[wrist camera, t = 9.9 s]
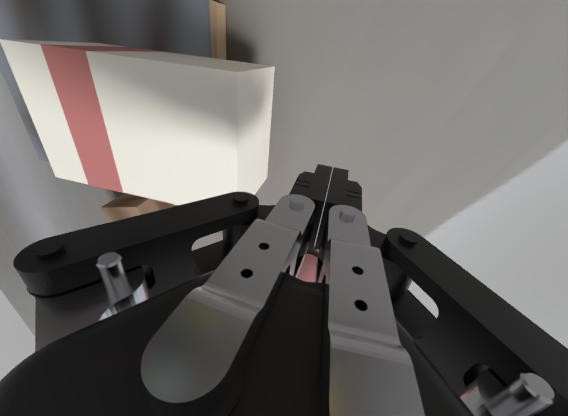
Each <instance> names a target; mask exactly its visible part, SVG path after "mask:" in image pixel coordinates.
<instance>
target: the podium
mask: <svg viewBox="0 0 568 416" xmlns="http://www.w3.org/2000/svg"><path fill="white" fill-rule="evenodd" d="M0 39H11V40H36V41H61V42H86V43H102V44H110V45H117V46H125V47H135V48H143V49H150V50H158V51H164V52H170V53H178V54H186V55H193V56H201V57H208V58H216V59H223V60H226V9H225V5H224V4H221V3H218V2H216V1H213V0H0ZM0 69H1V72H2V74H3V76H4V79H5V81H6V83H7V86H8V88H9V90H10V93H11V95H12V97H13V99H14V102H15V104H16V106H17V109H18V111H19V113H20V116H21V118H22V120H23V122H24V125H25V127H26V129H27V132H28V134H29V136H30V139H31V141H32V143H33V145H34V148H35V150H36V152H37V155H38V157H39V159H40V160H43V161H48V162H49V159H48V157H47V154H46V152H45V150H44V147H43V145H42V142H41V140H40V137H39V135H38V133H37V130H36V128H35V125H34V123H33V120H32V118H31V116H30V113H29V111H28V108H27V106H26V103H25V101H24V99H23V96H22V94H21V91H20V89H19V87H18V84H17V82H16V79H15V77H14V74H13V72H12V70H11V67H10V65H9V62H8V60H7V57H6V55H5V53H4V50H3V48H2V45H1V43H0Z"/></svg>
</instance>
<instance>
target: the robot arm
mask: <svg viewBox="0 0 568 416" xmlns="http://www.w3.org/2000/svg"><path fill="white" fill-rule="evenodd" d="M331 171H332V167H330V166H325V165H320V164H318V165H317V168H316V170H315V173H310V172H306V171H305V172H303V173H301V174H299V176H298V178H297V180H296V182H295V184H294V186H293V188H292V190H291V192H290V194H289V195H285V196H283V197H282V198H281V199H280V200H279V201H278V203H277V204H276V205H272V206H266V205H259V200H258V198H257V197H256V196H255V195H253V194H251V193H248V192H231V193H227V194H223V195H219V196H215V197H211V198H207V199H203V200H199V201H195V202H191V203H187V204H183V205H178V206H174V207H170V208H166V209H162V210H158V211H154V212H150V213H146V214H142V215H138V216H134V217H130V218H126V219H122V220H118V221H114V222H110V223H106V224H102V225H97V226H93V227H89V228H85V229H81V230H77V231H73V232H69V233H65V234H61V235H57V236H53V237H49V238H45V239H42V240H40V241H37V242H35V243H33V244H31V245H29V246H27V247H26V248H24V249H23V250H22V251H20V252H19V253H18V254H17V256H16V257H15V259H14V263H13V264H14V267H15V269H16V270H17V272H18V273H19V275H20V277H21V278H22V280H23V281H24V283H25V284H26V286H27V291H28V293H29V295H30V296H31V298H32V299H33V301H34V302H35V304H36V312H35V342H36V343H35V349H36V350H35V353H33V354H32V355H30V356H29V357H27V358H26V359H25V360H23V361H22V362H21V363H20V364H19V365H17V366H16V367H15V368H14V369H12V370H11V371H10V372H9V373H8V374H7V375H6V376H5V377H4V378H3V379H2V380H1V381H0V416H568V349H567V348H566V347H565V346H563V345H562V344H561V343H559V342H558V341H557V340H555V339H554V338H553V337H551V336H550V335H549V334H548V333H546V332H545V331H544V330H542V329H541V328H540V327H539V326H537V325H536V324H535V323H533V322H532V321H531V320H529V319H528V318H527V317H526V316H524V315H523V314H522V313H520V312H519V311H518V310H517V309H515V308H514V307H513V306H511V305H510V304H509V303H507V302H506V301H505V300H504V299H502V298H501V297H500V296H498V295H497V294H496V293H494V292H493V291H492V290H491V289H489V288H488V287H487V286H485V285H484V284H483V283H481V282H480V281H479V280H478V279H476V278H475V277H474V276H472V275H471V274H470V273H468V272H467V271H466V270H465V269H463V268H462V267H461V266H459V265H458V264H457V263H456V262H454V261H453V260H452V259H450V258H449V257H447V256H446V255H445V254H444V253H443V252H441V251H440V250H439V249H437V248H436V247H435V246H433V245H432V244H431V243H429V242H428V241H427V240H426V239H424V238H423V237H422V236H420V235H419V234H417V233H415V232H413V231H411V230H408V229H403V228H392V229H390V230H389V231H388V232H387V234H383V233H381V232H379V231H376V230H374V229H373V228H371V227H370V226H368V225H367V220H366V216H365V215H364V214H363V213H362V188H361V186H360V185H359V184H358V183H357V182H354V181H349V180H348V170H345V169H340V168H335V167H334V168H333V173H332V177H331V181H330V185H329V190H328V194H327V198H326V203H325V207H324V211H323V215H322V220H321V224H320V228H319V233H318V237H317V241H316V246H315V249H319V255H318V259H317V263H316V271H315V281H314V282H306V281H302V280H300V279H298V278H297V276H298V274H299V271H300V269H301V266H302V264H303V261H304V257H305V254H306V253H307V251H308V247H310V248H313V247H314V243H315V239H316V235H317V231H318V227H319V222H320V218H321V214H322V210H323V206H324V202H325V197H326V193H327V189H328V184H329V180H330V175H331ZM222 230H223V240H222V241H219V242H216V243H213V244H210V245H208V246H205V247H202V248H199V249H196V250H193V251H192V250H191V248H192V245H193V243H194V242H195V241H196V240H197V239H199V238H201V237H204V236H207V235H210V234H213V233H216V232H219V231H222ZM412 281H414V282H415V283H416V284H417V285H418V286H419V287H420V288H421V289H422V290H423V291H424V292H425V293H427V294H428V295H429V296H430V297H431V298H432V299H433V300H434V302H435V303H436V305H437V307H438V310H439V315H438V317H437V319H436V317H435V316H434V315H433V314H432V313H431V312H430V311H429V310H428V309H427V308H426V307H425V306H424V305H423V304H422V303H421V302H420V301H419V300H418V299H417V298H416V297H415V296H414V295H413V294H412V293H411V292H410V291H409V290H408V288H409V286H410V284H411V282H412Z"/></svg>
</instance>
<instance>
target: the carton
mask: <svg viewBox="0 0 568 416" xmlns="http://www.w3.org/2000/svg"><path fill="white" fill-rule="evenodd" d="M0 43H1V45H2V48H3V50H4V53H5V55H6V57H7V60H8V62H9V65H10V67H11V70H12V72H13V74H14V77H15V79H16V82H17V84H18V87H19V89H20V91H21V94H22V96H23V99H24V101H25V103H26V106H27V108H28V111H29V113H30V116H31V118H32V120H33V123H34V125H35V128H36V130H37V133H38V135H39V137H40V140H41V142H42V145H43V147H44V150H45V152H46V154H47V157H48V159H49V162H50V164H51V167H52V169H53V171H54V174H55V176H56V177H58V178H63V179H67V180H71V181H76V182H80V183H84V184H88V185H91V186H96V187H100V188H104V189H109V190H113V191H117V192H122V193H128V194H132V195H137V196H141V197H145V198H150V199H154V200H158V201H163V202H167V203H171V204H176V205H183V204H187V203H191V202H195V201H199V200H203V199H207V198H211V197H215V196H219V195H223V194H227V193H231V192H248V193H251V194H253V195H255V193H256V192H257V191H258V189H259V188H260V187H261V185H262V184H263V182H264V181H265V180H266V178H267V170H268V156H269V141H270V127H271V113H272V99H273V85H274V71H275V66H269V65H261V64H254V63H246V62H239V61H231V60H223V59H216V58H208V57H201V56H193V55H186V54H178V53H170V52H164V51H158V50H150V49H143V48H135V47H125V46H117V45H110V44H102V43H86V42H61V41H36V40H11V39H0Z"/></svg>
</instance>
